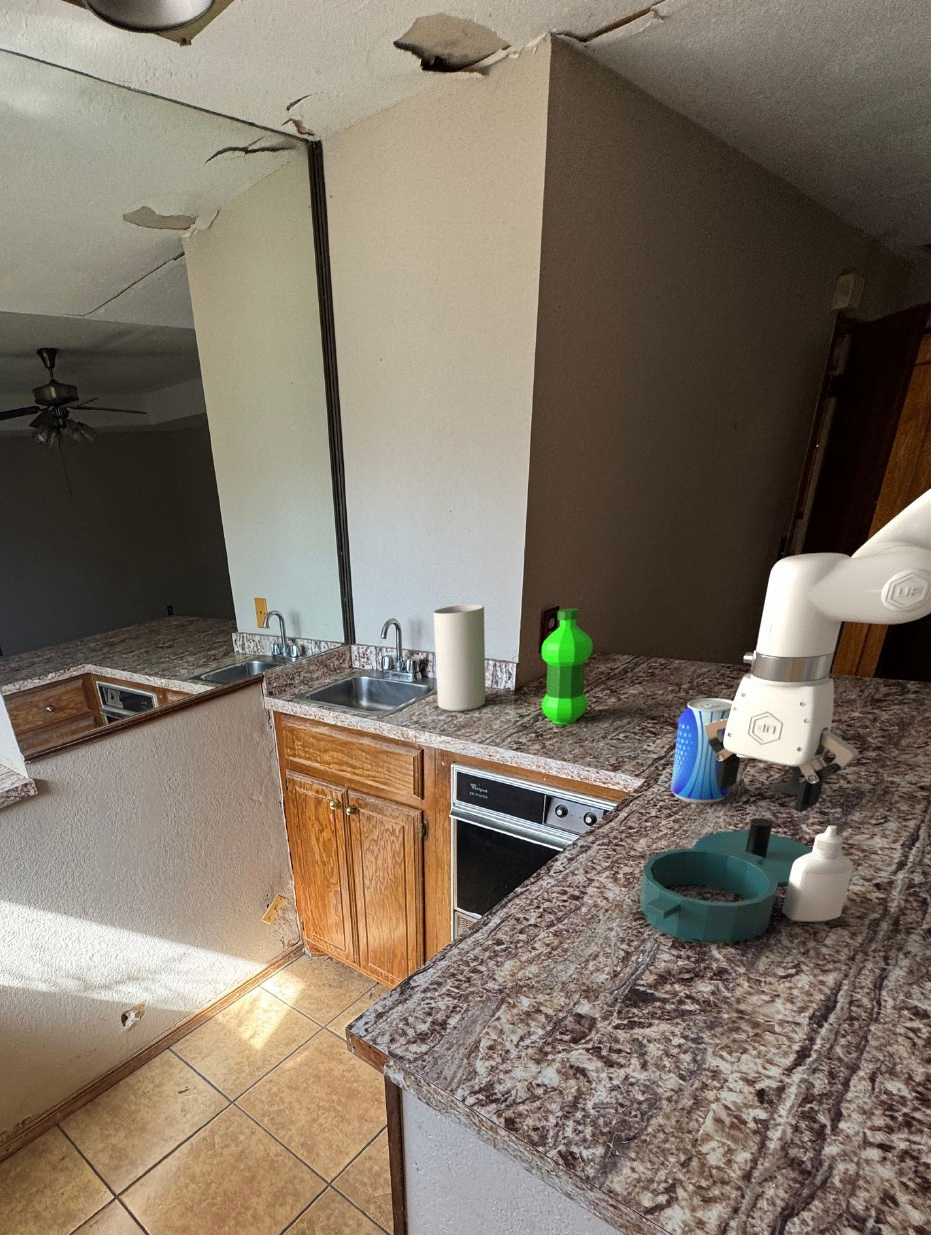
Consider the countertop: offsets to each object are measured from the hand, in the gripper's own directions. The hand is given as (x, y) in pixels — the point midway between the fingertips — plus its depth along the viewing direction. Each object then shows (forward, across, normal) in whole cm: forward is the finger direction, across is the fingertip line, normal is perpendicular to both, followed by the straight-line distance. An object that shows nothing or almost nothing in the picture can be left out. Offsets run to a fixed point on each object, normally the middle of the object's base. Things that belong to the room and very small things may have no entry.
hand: (763, 797), depth 85 cm
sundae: (+10, -9, +26) cm, 29 cm away
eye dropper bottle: (+10, +11, -8) cm, 17 cm away
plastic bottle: (+10, -62, +33) cm, 71 cm away
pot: (+10, +3, -16) cm, 19 cm away
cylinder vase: (+11, -92, +28) cm, 96 cm away
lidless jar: (+10, -22, +36) cm, 43 cm away
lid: (+9, 0, 0) cm, 9 cm away
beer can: (+10, -17, +14) cm, 24 cm away
